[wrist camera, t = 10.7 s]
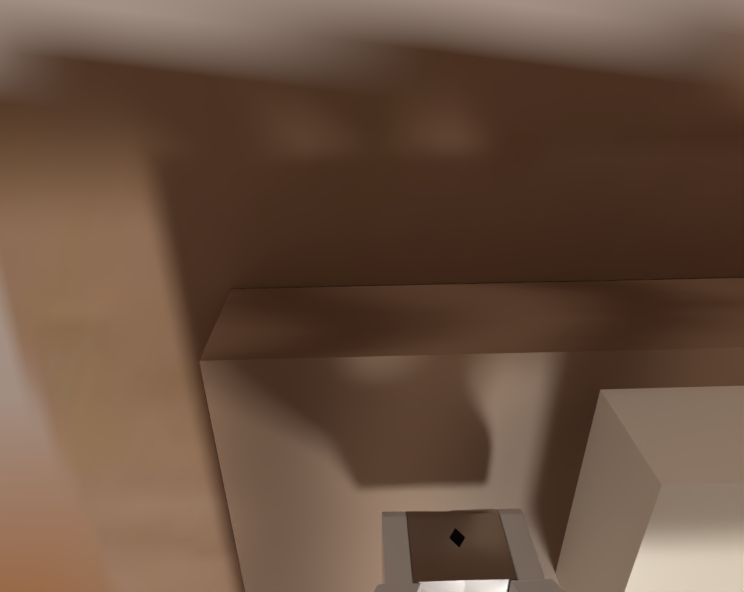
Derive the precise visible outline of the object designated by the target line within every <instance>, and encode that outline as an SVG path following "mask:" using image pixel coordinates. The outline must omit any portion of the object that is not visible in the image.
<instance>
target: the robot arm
mask: <svg viewBox="0 0 744 592" xmlns="http://www.w3.org/2000/svg"><path fill="white" fill-rule="evenodd" d="M374 592H565V591H564V590H563V589H562V588H561V587H560V586H559V585H558V584H557V583H556V582H555V581H554V580H553V579H545V576H544V573H543V570H542V567H541V564H540V561H539V558H538V555H537V552H536V549H535V546H534V543H533V540H532V537H531V534H530V531H529V528H528V525H527V522H526V519H525V516H524V513H523V512H522V511H521V509H519V508H516V509H472V510H450V511H406V512H405V511H394V512H382V584H378V585H377V587H376V589H375V591H374Z"/></svg>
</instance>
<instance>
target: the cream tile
mask: <svg viewBox="0 0 744 592" xmlns="http://www.w3.org/2000/svg"><path fill="white" fill-rule="evenodd" d="M555 574H556V577H557V579H558V582H559V585H560V587H561V588H562V589H563V590H564V591H565V592H744V386H712V387H674V388H636V389H600V393H599V397H598V401H597V405H596V409H595V413H594V417H593V421H592V426H591V430H590V434H589V438H588V442H587V446H586V450H585V454H584V458H583V462H582V466H581V471H580V475H579V479H578V483H577V487H576V491H575V495H574V499H573V503H572V507H571V511H570V516H569V520H568V524H567V528H566V532H565V536H564V540H563V544H562V548H561V552H560V556H559V561H558V565H557V569H556V573H555Z"/></svg>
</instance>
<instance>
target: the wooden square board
mask: <svg viewBox="0 0 744 592" xmlns="http://www.w3.org/2000/svg"><path fill="white" fill-rule="evenodd" d="M199 363H200V368H201V373H202V378H203V383H204V388H205V393H206V398H207V403H208V408H209V413H210V418H211V423H212V428H213V433H214V438H215V443H216V448H217V453H218V458H219V463H220V468H221V473H222V478H223V483H224V488H225V493H226V498H227V503H228V508H229V513H230V518H231V523H232V528H233V533H234V538H235V543H236V548H237V553H238V558H239V563H240V568H241V573H242V578H243V583H244V588H245V592H374V591H375V589H376V587H377V585H378V584H382V512H394V511H405V512H406V511H450V510H472V509H516V508H519V509H521V511H522V512H523V513H524V516H525V519H526V522H527V525H528V528H529V531H530V534H531V537H532V540H533V543H534V546H535V549H536V552H537V555H538V558H539V561H540V564H541V567H542V570H543V573H544V576H545V579H553V580H554V581H555V582H556V583H557V584H558V585H559V582H558V579H557V577H556V574H555V573H556V569H557V565H558V561H559V556H560V552H561V548H562V544H563V540H564V536H565V532H566V528H567V524H568V520H569V516H570V511H571V507H572V503H573V499H574V495H575V491H576V487H577V483H578V479H579V475H580V471H581V466H582V462H583V458H584V454H585V450H586V446H587V442H588V438H589V434H590V430H591V426H592V421H593V417H594V413H595V409H596V405H597V401H598V397H599V393H600V389H636V388H674V387H712V386H744V278H713V279H667V280H622V281H576V282H531V283H485V284H439V285H394V286H348V287H303V288H257V289H230V292H229V294H228V296H227V298H226V301H225V303H224V305H223V307H222V310H221V312H220V314H219V317H218V319H217V321H216V323H215V326H214V328H213V330H212V333H211V335H210V337H209V339H208V342H207V344H206V346H205V348H204V351H203V353H202V355H201V358H200V360H199ZM559 586H560V585H559Z"/></svg>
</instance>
